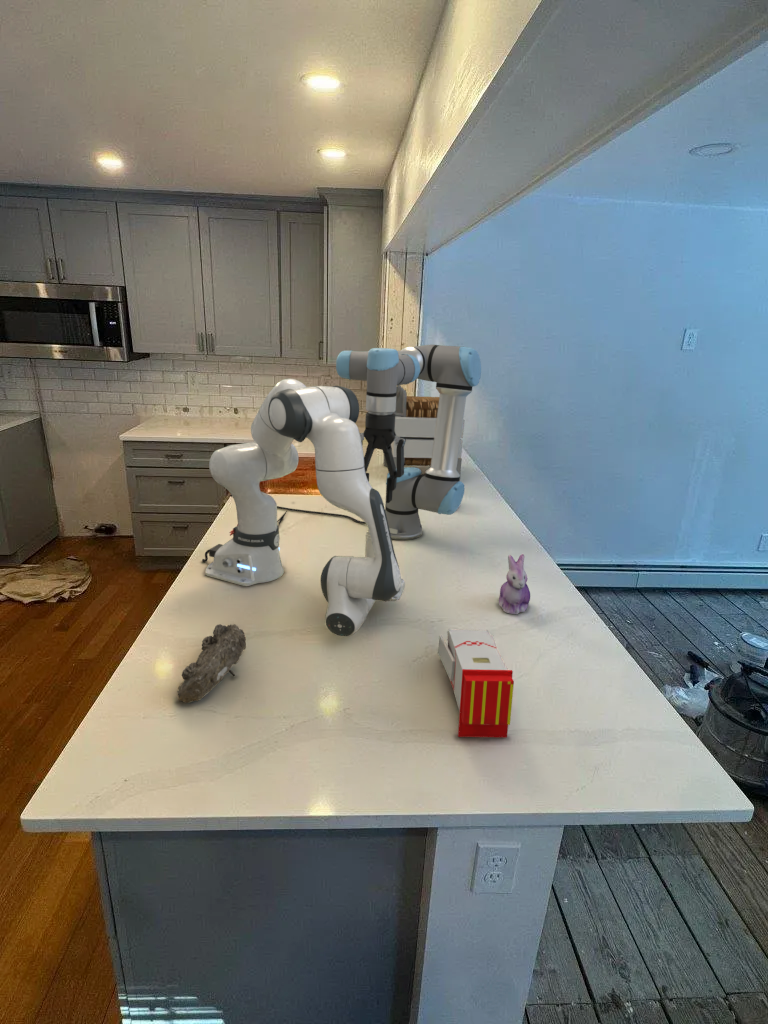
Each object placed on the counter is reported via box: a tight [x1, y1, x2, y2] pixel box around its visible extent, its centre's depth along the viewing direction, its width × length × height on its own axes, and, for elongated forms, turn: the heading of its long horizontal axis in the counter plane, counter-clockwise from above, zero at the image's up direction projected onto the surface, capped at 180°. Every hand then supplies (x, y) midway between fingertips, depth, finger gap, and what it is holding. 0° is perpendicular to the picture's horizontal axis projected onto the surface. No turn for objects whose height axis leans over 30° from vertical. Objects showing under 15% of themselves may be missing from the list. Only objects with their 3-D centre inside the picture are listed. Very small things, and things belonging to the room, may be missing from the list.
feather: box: [277, 510, 288, 528], centre depth 213 cm, size 2×28×2 cm
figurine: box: [498, 553, 531, 615], centre depth 151 cm, size 9×10×15 cm
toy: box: [437, 628, 515, 738], centre depth 117 cm, size 12×13×30 cm
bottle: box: [364, 529, 375, 558], centre depth 156 cm, size 5×5×22 cm
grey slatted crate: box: [383, 385, 465, 481], centre depth 268 cm, size 34×33×41 cm
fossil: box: [176, 623, 247, 704], centre depth 119 cm, size 22×10×15 cm
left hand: (373, 571), depth 156 cm, fingers open, 8 cm apart
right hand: (377, 499), depth 150 cm, fingers open, 6 cm apart
